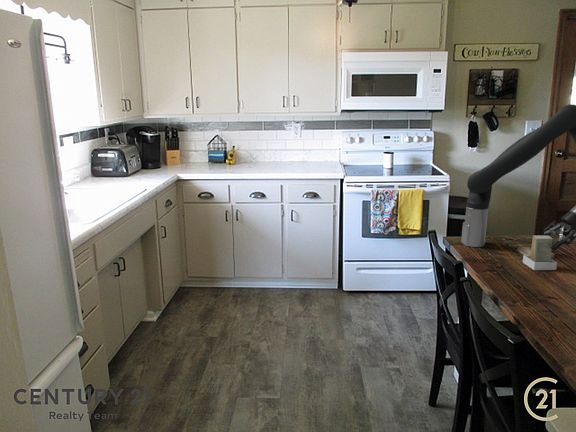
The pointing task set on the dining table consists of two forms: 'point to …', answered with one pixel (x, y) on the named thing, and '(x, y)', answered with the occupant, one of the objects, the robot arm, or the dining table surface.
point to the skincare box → (541, 248)
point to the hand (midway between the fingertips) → (545, 245)
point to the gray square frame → (539, 264)
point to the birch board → (528, 251)
